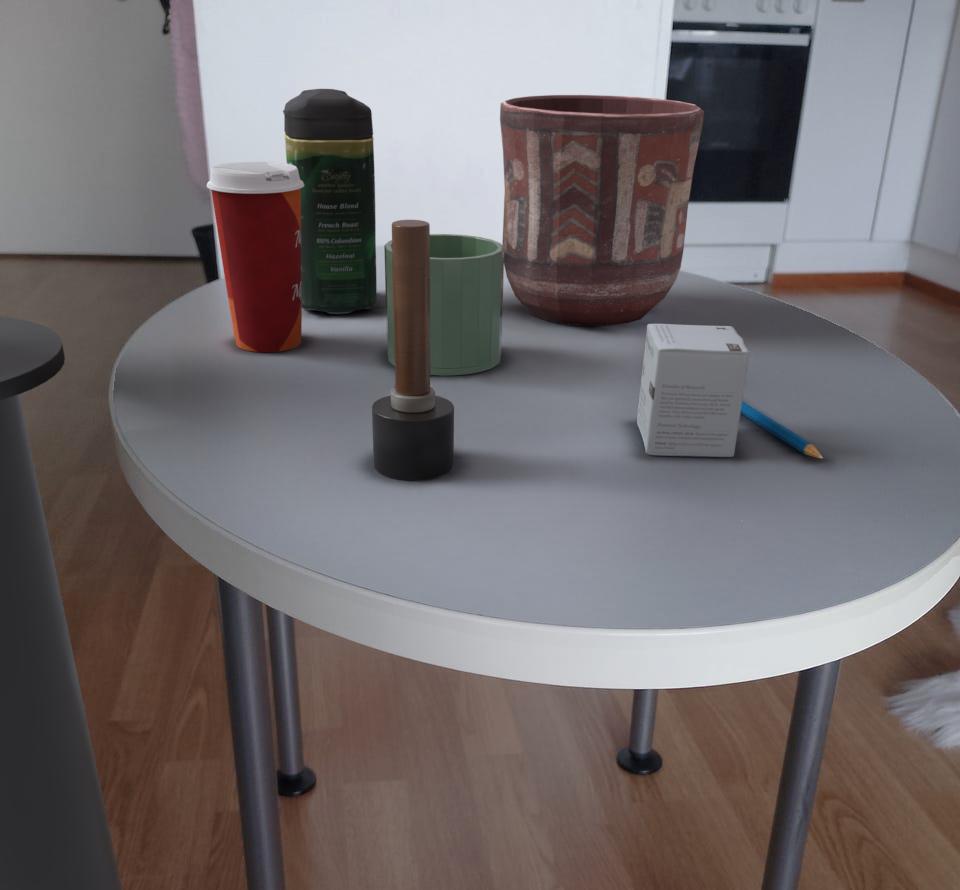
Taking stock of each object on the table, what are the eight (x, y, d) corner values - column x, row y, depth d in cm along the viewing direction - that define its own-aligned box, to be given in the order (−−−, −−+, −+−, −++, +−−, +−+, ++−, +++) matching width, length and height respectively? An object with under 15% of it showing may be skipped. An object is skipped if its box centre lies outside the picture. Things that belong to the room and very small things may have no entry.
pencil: (702, 383, 86) (703, 374, 85) (827, 462, 72) (829, 453, 72) (693, 384, 86) (694, 375, 85) (817, 464, 72) (819, 454, 72)
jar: (415, 381, 85) (414, 263, 81) (370, 349, 92) (366, 239, 88) (520, 367, 89) (525, 253, 84) (469, 337, 96) (470, 230, 92)
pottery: (509, 338, 96) (517, 113, 87) (483, 289, 111) (487, 93, 101) (703, 335, 98) (731, 115, 89) (652, 288, 113) (671, 95, 104)
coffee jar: (383, 315, 102) (378, 94, 92) (298, 318, 100) (283, 94, 91) (371, 290, 110) (365, 84, 100) (292, 292, 108) (278, 84, 99)
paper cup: (331, 344, 93) (322, 169, 86) (255, 361, 89) (239, 178, 82) (279, 325, 98) (267, 157, 91) (205, 340, 94) (185, 165, 86)
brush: (393, 486, 68) (387, 234, 60) (361, 457, 72) (352, 218, 64) (467, 472, 70) (470, 228, 62) (433, 445, 74) (432, 212, 66)
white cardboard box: (635, 425, 78) (645, 321, 74) (719, 426, 78) (734, 323, 74) (645, 457, 73) (657, 347, 69) (736, 458, 73) (752, 349, 69)
